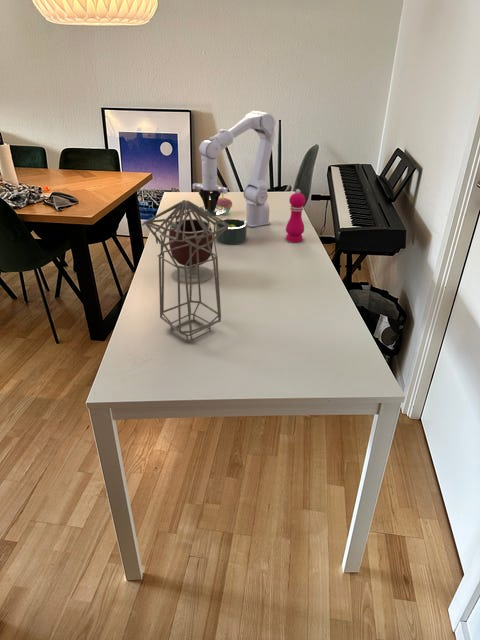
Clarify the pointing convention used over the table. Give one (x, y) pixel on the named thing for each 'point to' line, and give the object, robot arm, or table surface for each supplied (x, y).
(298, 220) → the pepper mill
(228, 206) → the cupcake
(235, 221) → the pot
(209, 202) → the pot lid
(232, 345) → the table surface
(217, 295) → the geometric lantern
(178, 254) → the mate gourd
